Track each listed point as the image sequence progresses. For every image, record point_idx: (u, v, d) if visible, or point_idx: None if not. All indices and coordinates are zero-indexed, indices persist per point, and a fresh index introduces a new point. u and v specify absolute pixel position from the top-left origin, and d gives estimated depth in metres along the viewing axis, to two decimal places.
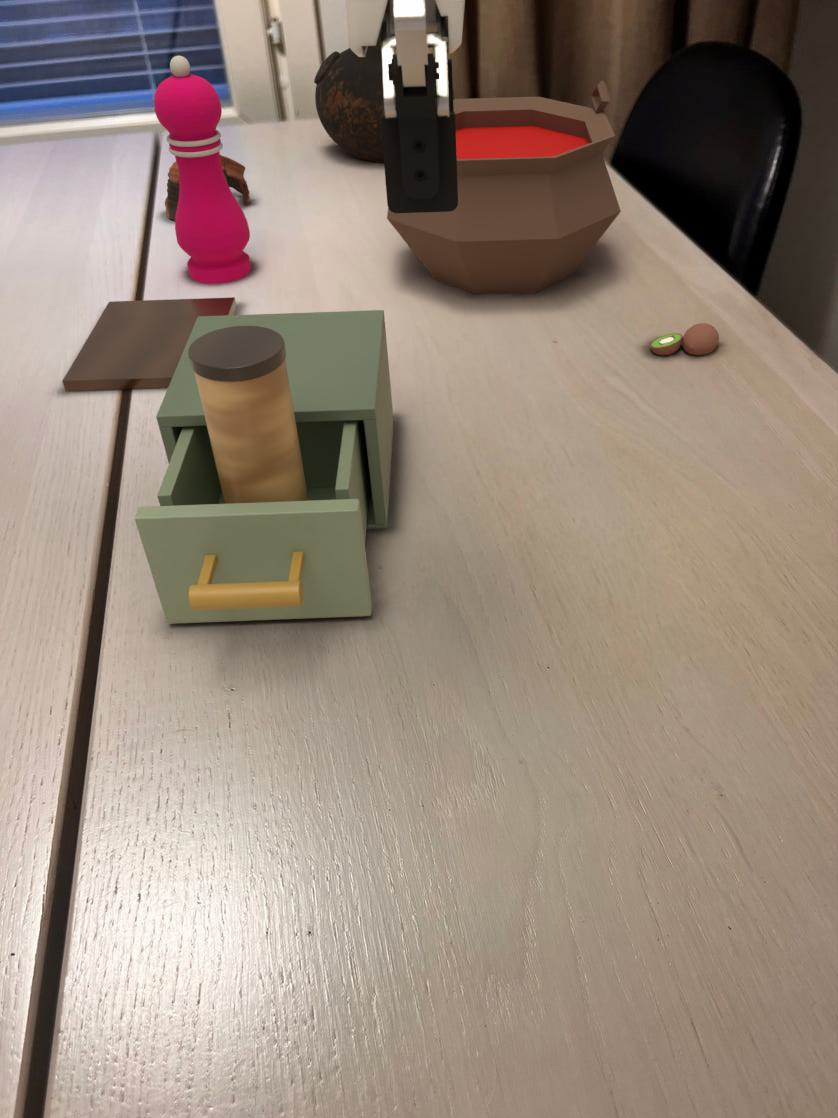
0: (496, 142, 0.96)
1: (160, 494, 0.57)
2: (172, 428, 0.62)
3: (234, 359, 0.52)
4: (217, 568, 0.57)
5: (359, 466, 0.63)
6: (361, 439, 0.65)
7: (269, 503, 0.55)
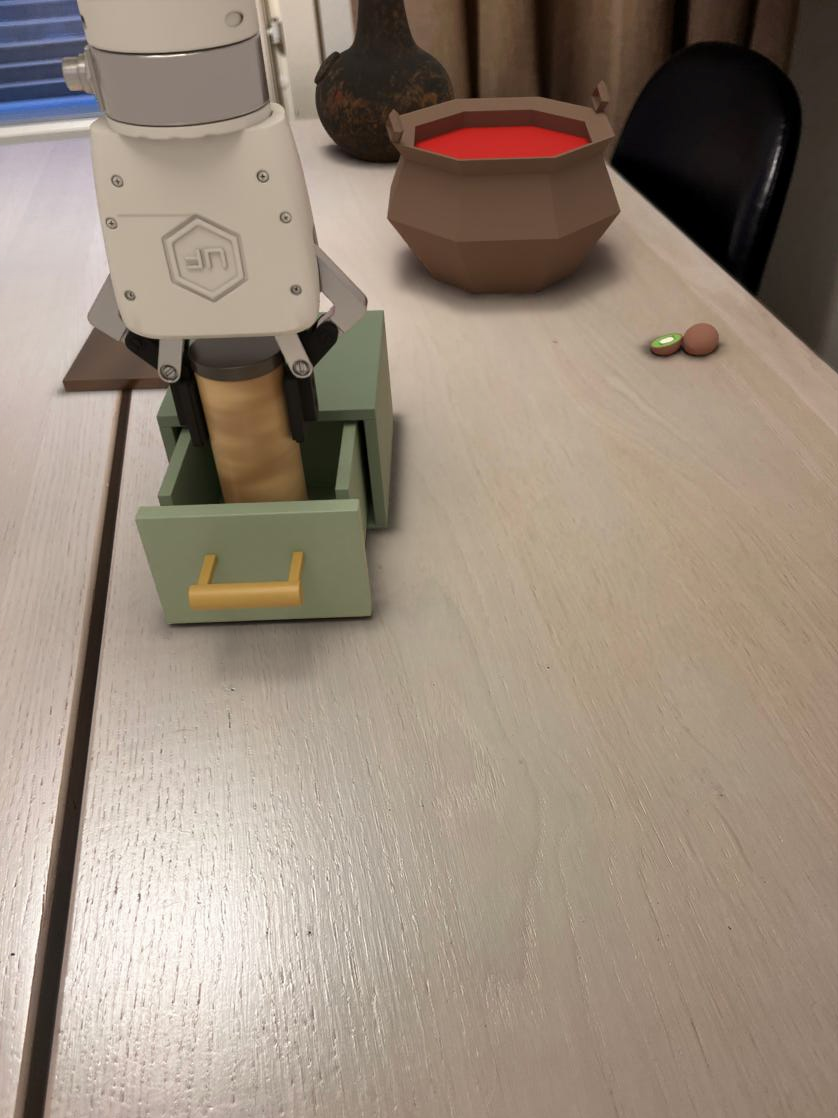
0: (496, 142, 0.96)
1: (160, 494, 0.57)
2: (172, 428, 0.62)
3: (234, 359, 0.52)
4: (217, 568, 0.57)
5: (359, 466, 0.63)
6: (361, 439, 0.65)
7: (269, 503, 0.55)
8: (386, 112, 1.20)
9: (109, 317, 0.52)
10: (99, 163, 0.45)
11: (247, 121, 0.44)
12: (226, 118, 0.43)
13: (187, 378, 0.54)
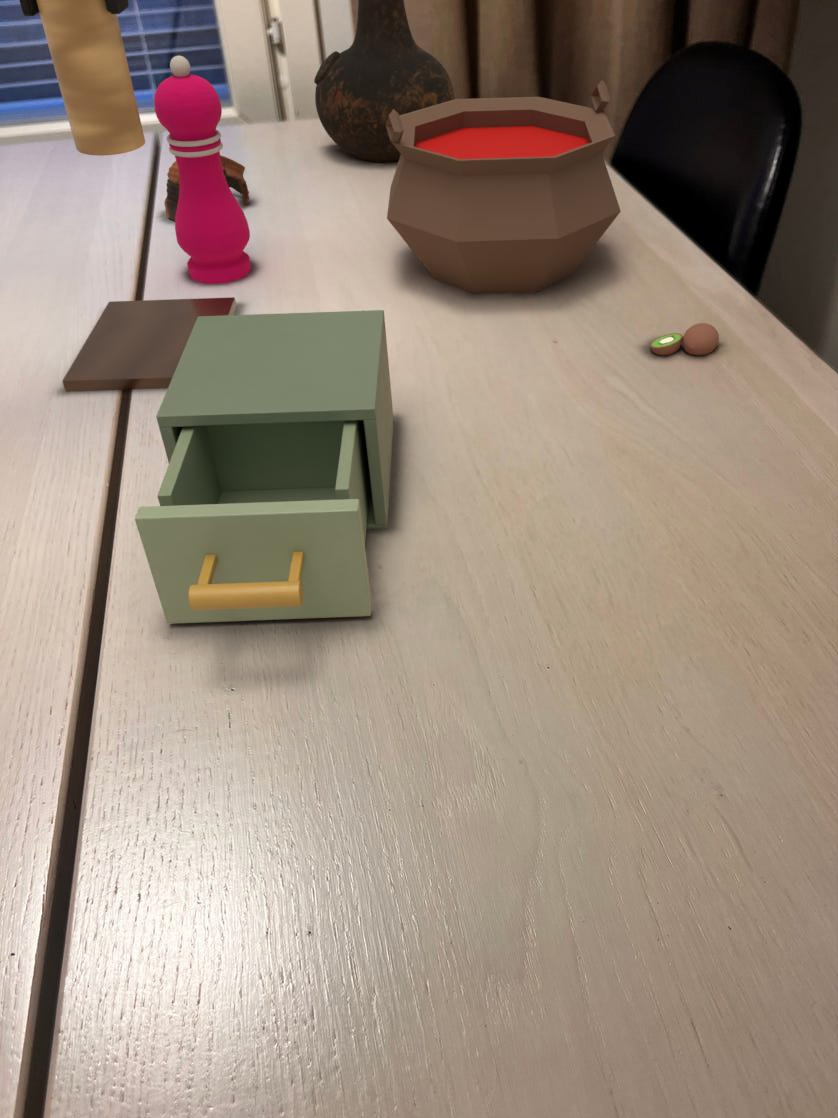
0: (496, 142, 0.96)
1: (160, 494, 0.57)
2: (172, 428, 0.62)
3: None
4: (217, 568, 0.57)
5: (359, 466, 0.63)
6: (361, 439, 0.65)
7: (269, 503, 0.55)
8: (386, 112, 1.20)
9: None
10: None
11: None
12: None
13: None
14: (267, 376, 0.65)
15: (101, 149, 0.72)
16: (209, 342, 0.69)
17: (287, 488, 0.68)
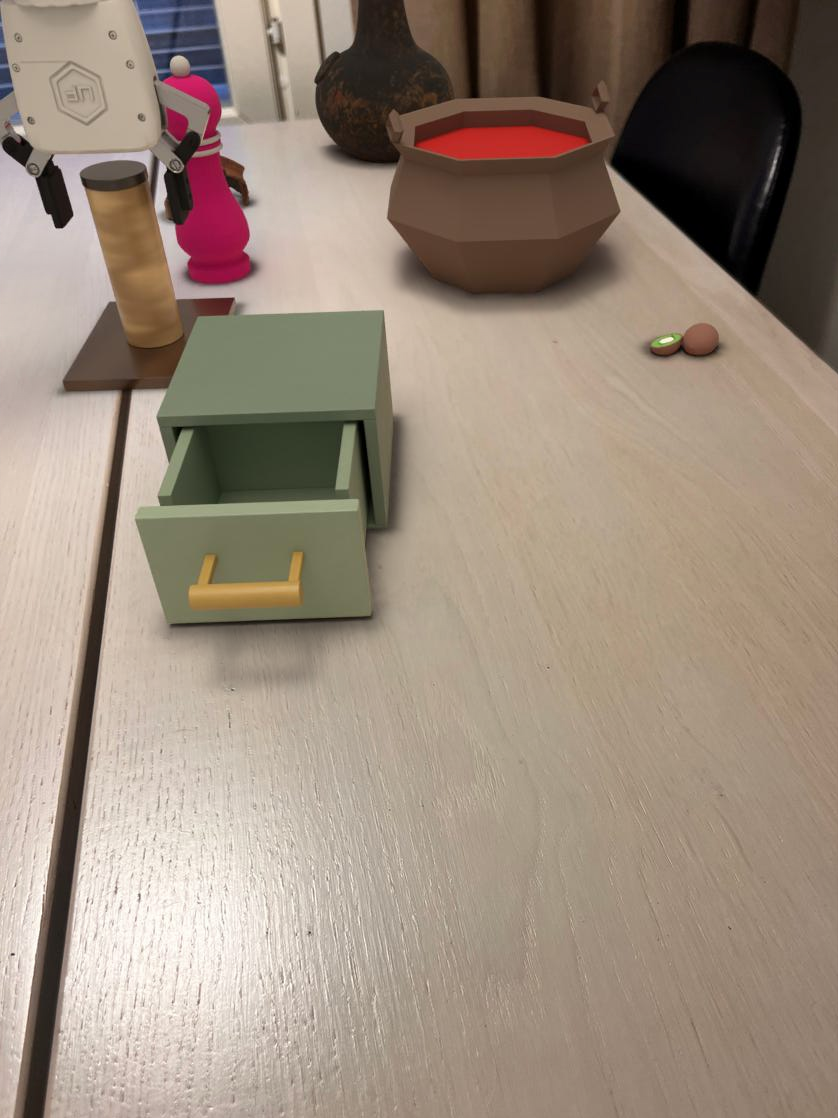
0: (496, 142, 0.96)
1: (160, 494, 0.57)
2: (172, 428, 0.62)
3: (109, 176, 0.77)
4: (217, 568, 0.57)
5: (359, 466, 0.63)
6: (361, 439, 0.65)
7: (269, 503, 0.55)
8: (386, 112, 1.20)
9: None
10: (6, 25, 0.70)
11: None
12: None
13: (47, 175, 0.78)
14: (267, 376, 0.65)
15: (148, 343, 0.86)
16: (209, 342, 0.69)
17: (287, 488, 0.68)
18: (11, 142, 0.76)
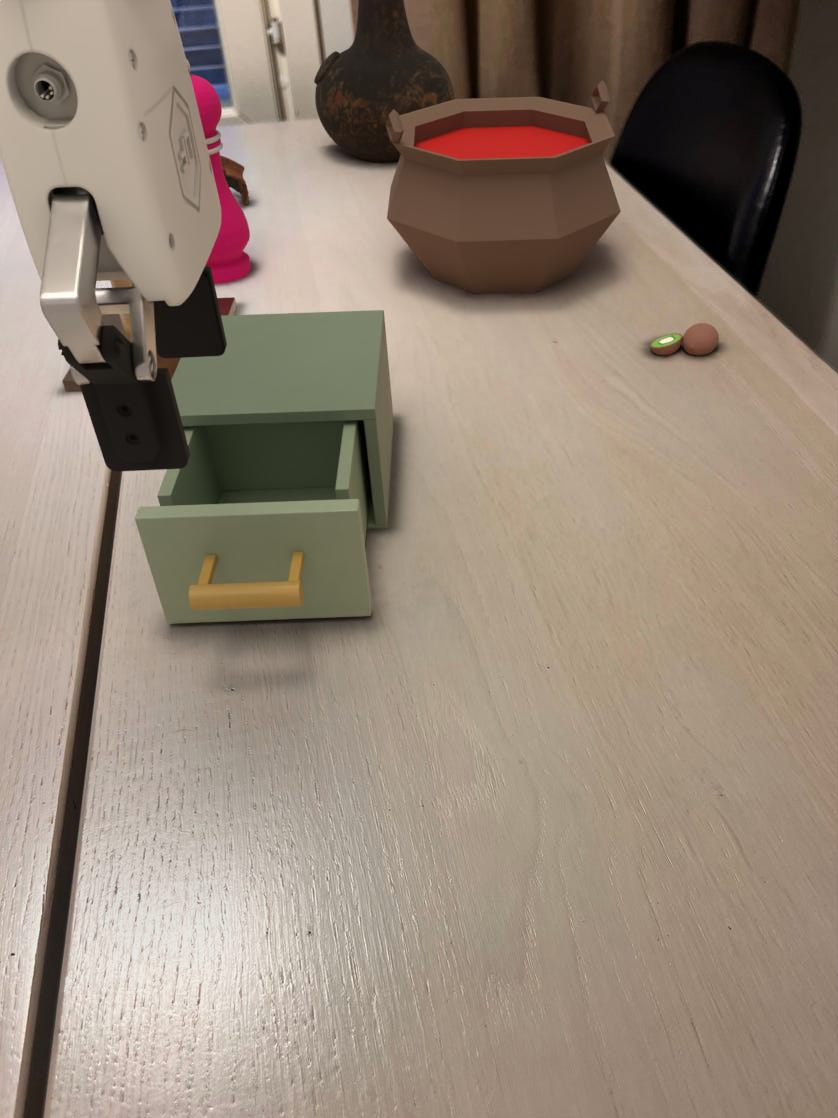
0: (496, 142, 0.96)
1: (160, 494, 0.57)
2: None
3: None
4: (217, 568, 0.57)
5: (359, 466, 0.63)
6: (361, 439, 0.65)
7: (269, 503, 0.55)
8: (386, 112, 1.20)
9: (90, 301, 0.32)
10: (113, 37, 0.30)
11: None
12: None
13: None
14: (267, 376, 0.65)
15: None
16: None
17: (287, 488, 0.68)
18: (116, 330, 0.33)
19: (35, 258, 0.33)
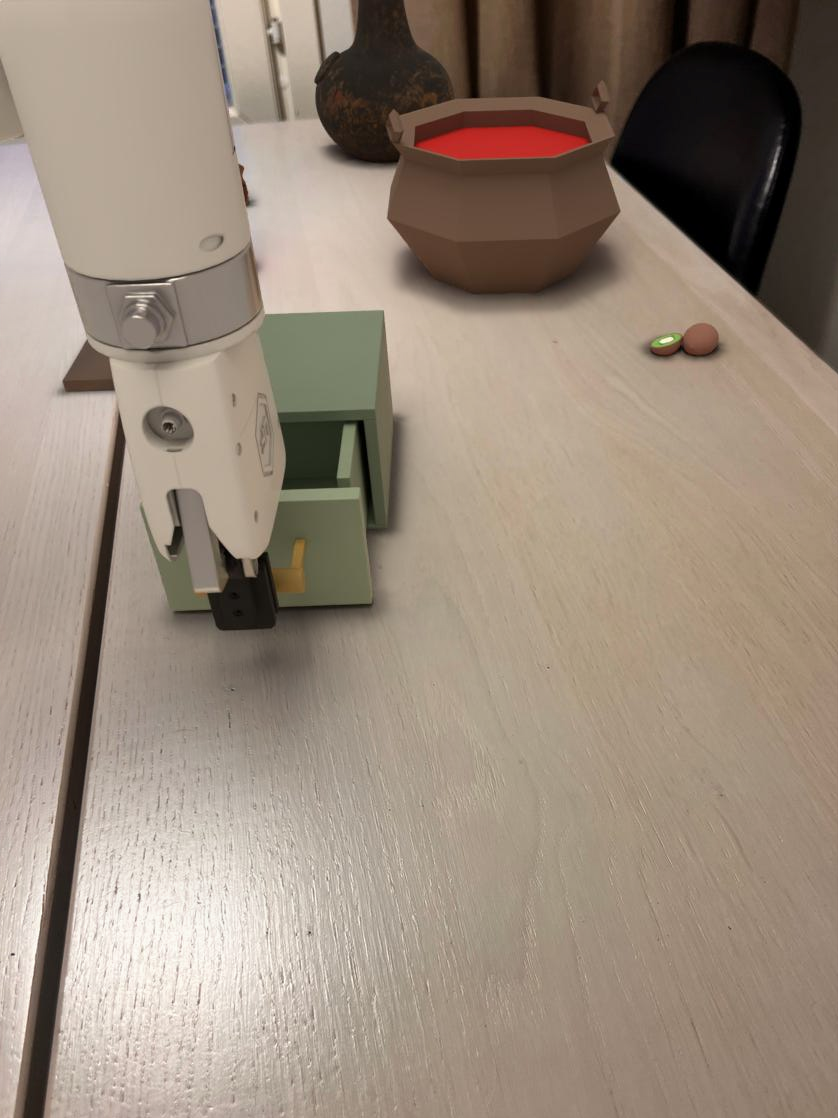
0: (496, 142, 0.96)
1: None
2: None
3: None
4: None
5: (360, 456, 0.64)
6: (362, 430, 0.66)
7: None
8: (386, 112, 1.20)
9: (221, 568, 0.46)
10: (221, 392, 0.40)
11: None
12: None
13: None
14: None
15: None
16: None
17: (289, 479, 0.69)
18: None
19: (153, 531, 0.44)
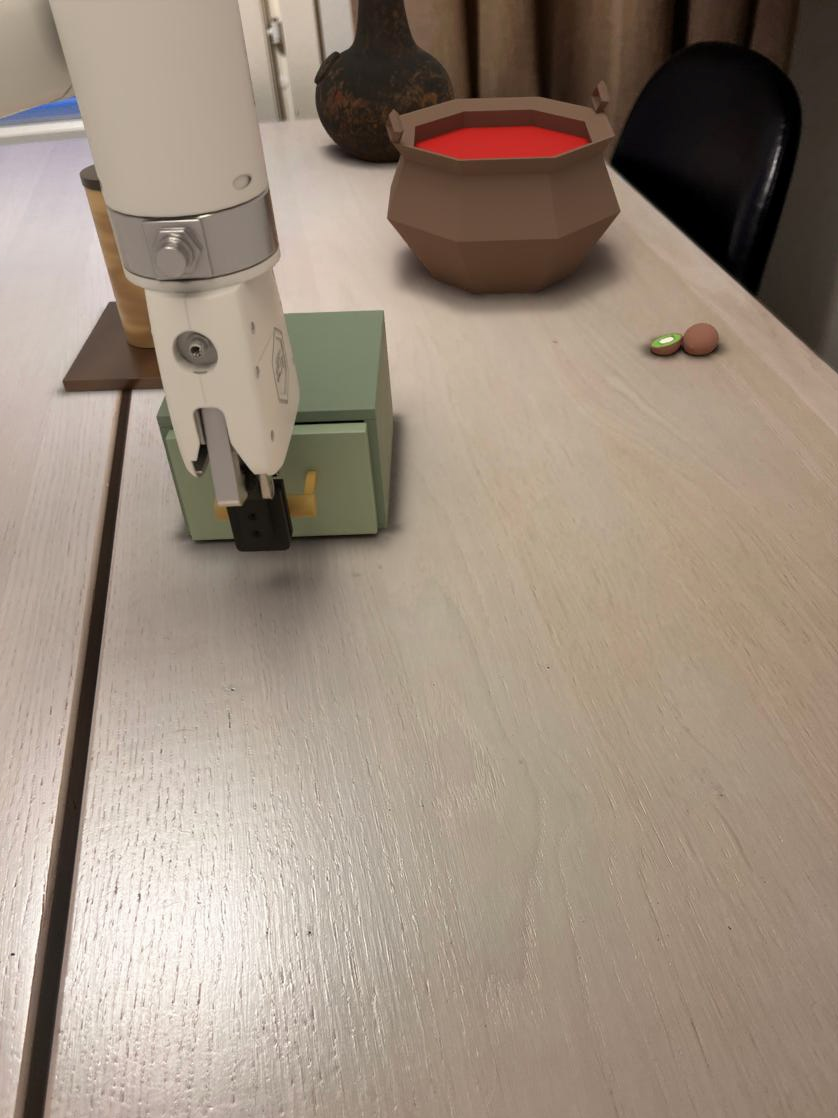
0: (496, 142, 0.96)
1: None
2: (172, 428, 0.62)
3: None
4: None
5: None
6: None
7: None
8: (386, 112, 1.20)
9: (241, 485, 0.51)
10: (242, 319, 0.46)
11: None
12: None
13: None
14: None
15: (148, 343, 0.86)
16: None
17: None
18: (253, 472, 0.53)
19: (181, 448, 0.49)
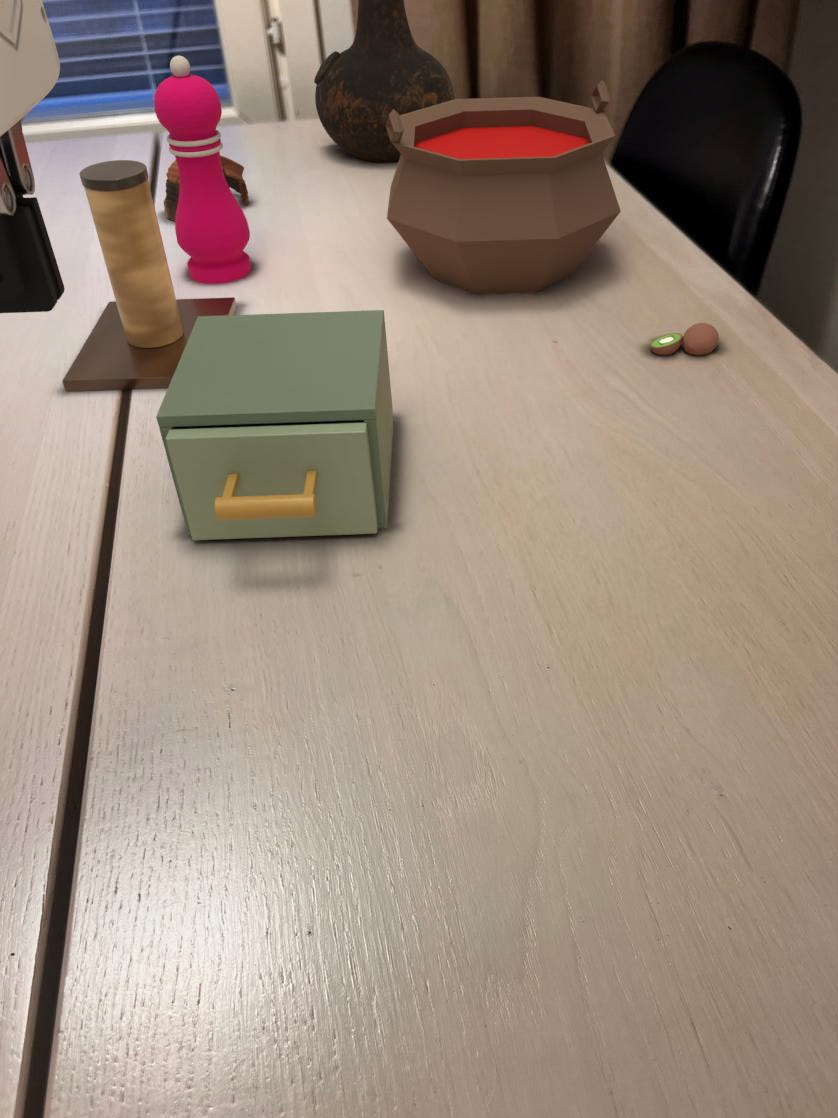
0: (496, 142, 0.96)
1: None
2: (172, 428, 0.62)
3: (109, 176, 0.77)
4: (239, 487, 0.63)
5: None
6: None
7: (286, 426, 0.62)
8: (386, 112, 1.20)
9: None
10: None
11: None
12: None
13: None
14: (267, 376, 0.65)
15: (148, 343, 0.86)
16: (209, 342, 0.69)
17: None
18: None
19: None
